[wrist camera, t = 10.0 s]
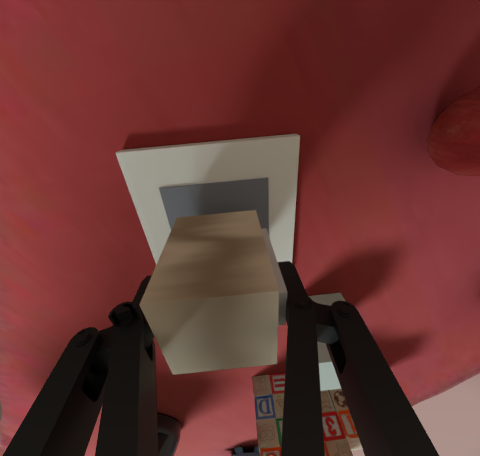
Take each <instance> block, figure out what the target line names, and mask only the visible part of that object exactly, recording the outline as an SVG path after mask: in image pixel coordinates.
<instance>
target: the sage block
mask: <svg viewBox="0 0 480 456" xmlns="http://www.w3.org/2000/svg"><path fill="white" fill-rule="evenodd" d="M308 297H310V298H311V299H312V300H313V301H314V302H316V303H319V304H324V305H329V306H331V305H332V303H334V302H335V301H345V299H344V298H343V296H342V294H341V293H332V294H323V295H314V296H308ZM317 345H318V360H319V375H320V390H321V391H324V390H333V389H341V386H340V383H339V380H338V377H337V375H336V372H335V369H334V366H333V363H332V360H331V358H330V355H329V352H328V349H327V346H326V343H321V342H317Z"/></svg>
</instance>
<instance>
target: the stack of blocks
mask: <svg viewBox="0 0 480 456" xmlns="http://www.w3.org/2000/svg"><path fill="white" fill-rule="evenodd" d="M252 379H253V390H254V397H255V411H256V426H257V437H258V447H259V452H260V456H281V440H282V422H283V405H284V387H285V373H278V374H270V375H262V376H254V377H252ZM321 405H322V420H323V435H324V450H325V456H353V455H352V452H351V451H354V450H360V449H362V450H363V448H362V446H361V443H360V440H359V437H358V434H357V431H356V429H355V426H354V423H353V420H352V417H351V414H350V411H349V409H348V406H347V403H346V400H345V397H344V394H343V392H342V389H333V390H324V391H321Z"/></svg>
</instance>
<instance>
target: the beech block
mask: <svg viewBox="0 0 480 456" xmlns="http://www.w3.org/2000/svg"><path fill="white" fill-rule="evenodd" d="M140 307H141V309H142V311H143V313H144V315H145V318H146V320H147V322H148V324H149V326H150V328H151V330H152V332H153V334H154V336H155V338H156V341H157V343H158V345H159V347H160V349H161V351H162V353H163V355H164V357H165V359H166V361H167V364H168V366H169V368H170V370H171V372H172V374H173V375H176V374H186V373H195V372H205V371H214V370H224V369H233V368H243V367H253V366H262V365H272V364H277V345H278V311H279V289H278V285H277V282H276V278H275V275H274V271H273V268H272V264H271V261H270V258H269V254H268V251H267V247H266V244H265V240H264V237H263V233H262V230H261V226H260V223H259V219H258V216H257V212H256V210H251V211H240V212H230V213H219V214H208V215H198V216H187V217H177V218H176V220H175V223H174V225H173V227H172V230H171V232H170V234H169V237H168V239H167V241H166V244H165V246H164V248H163V251H162V253H161V255H160V258H159V260H158V262H157V265H156V267H155V269H154V272H153V274H152V276H151V279H150V281H149V283H148V286H147V288H146V290H145V293H144V295H143V298H142V300H141V302H140Z"/></svg>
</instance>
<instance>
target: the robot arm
mask: <svg viewBox="0 0 480 456" xmlns="http://www.w3.org/2000/svg"><path fill="white" fill-rule="evenodd" d="M261 230H262V233H263V237H264V240H265V244H266V247H267V251H268V254H269V258H270V261H271V264H272V268H273V271H274V275H275V278H276V282H277V285H278V289H279V311H278V325H286V322H287V325H288V334H287V352H286V370H285V387H284V405H283V422H282V440H281V456H325V450H324V435H323V420H322V405H321V390H320V375H319V360H318V345H317V342H321V343H326V346H327V349H328V352H329V355H330V358H331V360H332V363H333V366H334V369H335V372H336V375H337V377H338V380H339V383H340V386H341V389H342V392H343V394H344V397H345V400H346V403H347V406H348V409H349V411H350V414H351V417H352V420H353V423H354V426H355V429H356V431H357V434H358V437H359V440H360V443H361V446H362V448H363V451H364V454H365V456H439V455H438V453H437V451H436V449H435V447H434V446H433V444H432V442H431V440H430V438H429V437H428V435H427V433H426V431H425V430H424V428H423V426H422V424H421V422H420V421H419V419H418V417H417V415H416V414H415V412H414V410H413V408H412V406H411V405H410V403H409V401H408V399H407V397H406V396H405V394H404V392H403V390H402V389H401V387H400V385H399V383H398V381H397V380H396V378H395V376H394V374H393V373H392V371H391V369H390V367H389V365H388V364H387V362H386V360H385V358H384V357H383V355H382V353H381V351H380V349H379V348H378V346H377V344H376V342H375V341H374V339H373V337H372V335H371V333H370V332H369V330H368V328H367V326H366V325H365V323H364V321H363V319H362V317H361V316H360V314H359V312H358V310H357V309H356V308H355V307H354V306H353V305H352V304H350V303H348V302H346V301H335V302H334V303H332V305H331V306H329V305H324V304H319V303H316V302H314V301H313V300H312V299H311V298H310V297H308V295H307V294H306V291H305V289H304V287H303V284H302V282H301V280H300V277H299V275H298V273H297V270H296V268H295V266H294V265H293V264H292V263H291V262H290V261H284V262H277V259H276V256H275V253H274V250H273V247H272V244H271V241H270V238H269V235H268V232H267V229H266V228H264V229H261ZM151 276H152V275H151ZM151 276H147V277H146V278H145V279H144V280H143V281H142V282H141V285H140V287H139V289H138V291H137V294H136V295H135V297H134V300H133V302H124V303H122V304H119V305H118V306H116V307H115V308H114V309H113V310H112V311H111V312H110V314H109V316H108V317H109V319H110V320H111V322H112V323H113V325H114V326H112V327H109V328H107V329H104V330H101V331H98V330H97V329H96V328H94V327H89V328H86V329H83V330H82V331H80V332H78V333H77V334H76V335H75V336H74V337H73V338H72V339H71V340H70V342H69V343H68V345H67V347H66V349H65V350H64V352H63V354H62V355H61V357H60V359H59V360H58V362H57V364H56V366H55V367H54V369H53V371H52V372H51V374H50V376H49V378H48V379H47V381H46V383H45V384H44V386H43V388H42V389H41V391H40V393H39V395H38V396H37V398H36V400H35V401H34V403H33V405H32V406H31V408H30V410H29V412H28V413H27V415H26V417H25V418H24V420H23V422H22V424H21V425H20V427H19V429H18V430H17V432H16V434H15V435H14V437H13V439H12V441H11V442H10V444H9V446H8V447H7V449H6V451H5V453H4V454H3V456H84V455H85V452H86V449H87V446H88V443H89V440H90V438H91V435H92V432H93V429H94V426H95V424H96V421H97V418H98V415H99V412H100V409H101V407H102V404H103V407H102V413H101V420H100V426H99V433H98V440H97V446H96V453H95V456H174V454H175V451H176V448H177V446H178V443H179V439H180V431H181V425H180V423H179V422H178V421H177V420H175V419H173V418H171V417H168V416H165V415H161V414H157V396H156V366H155V344H154V341H153V337H154V334H153V332H152V330H151V328H150V326H149V324H148V322H147V320H146V318H145V315H144V313H143V311H142V309H141V307H140V302H141V300H142V298H143V295H144V293H145V290H146V288H147V286H148V283H149V281H150V279H151Z"/></svg>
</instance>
